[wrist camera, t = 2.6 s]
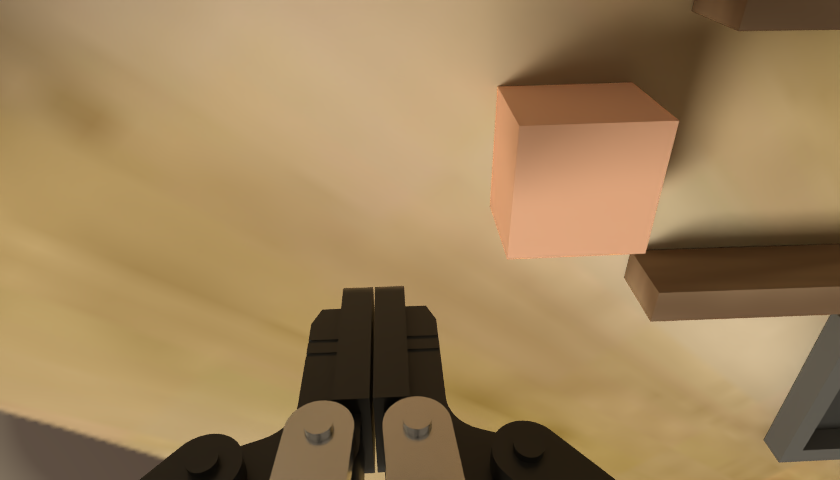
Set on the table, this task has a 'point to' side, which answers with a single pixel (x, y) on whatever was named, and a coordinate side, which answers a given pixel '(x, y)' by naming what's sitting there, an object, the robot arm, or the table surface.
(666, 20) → the table surface
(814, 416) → the dark gray tray
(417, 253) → the table surface
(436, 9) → the table surface
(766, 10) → the wooden bars
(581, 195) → the terracotta block
